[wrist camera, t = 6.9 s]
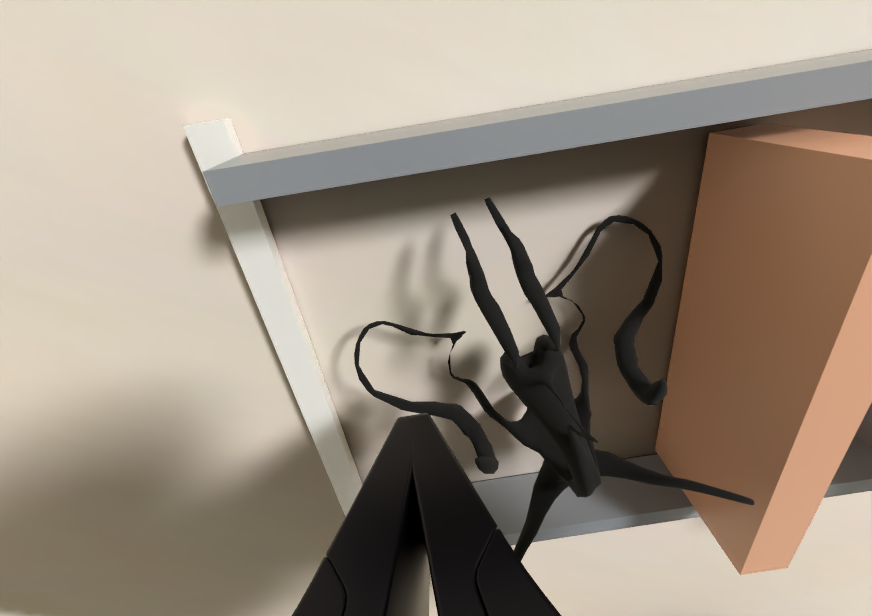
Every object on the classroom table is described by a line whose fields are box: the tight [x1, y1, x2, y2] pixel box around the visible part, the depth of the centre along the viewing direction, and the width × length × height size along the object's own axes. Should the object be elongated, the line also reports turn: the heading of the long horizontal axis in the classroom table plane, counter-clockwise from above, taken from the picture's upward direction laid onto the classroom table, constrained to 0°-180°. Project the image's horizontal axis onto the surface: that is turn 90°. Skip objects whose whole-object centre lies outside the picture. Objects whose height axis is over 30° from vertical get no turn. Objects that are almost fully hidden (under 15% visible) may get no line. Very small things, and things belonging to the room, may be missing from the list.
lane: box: [183, 49, 872, 546], centre depth 9 cm, size 14×18×5 cm
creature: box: [354, 197, 754, 561], centre depth 9 cm, size 8×5×8 cm
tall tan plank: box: [655, 124, 872, 575], centre depth 10 cm, size 10×1×4 cm, turn 8°
